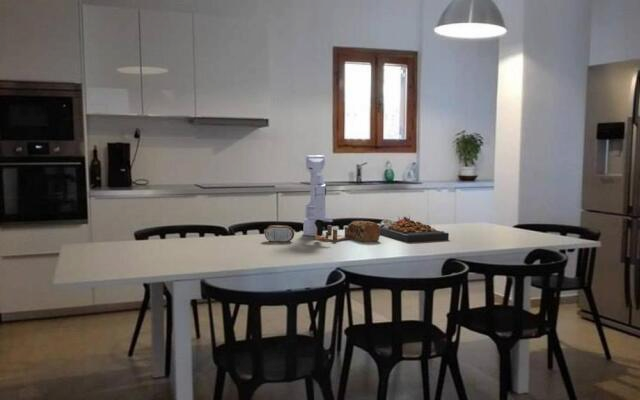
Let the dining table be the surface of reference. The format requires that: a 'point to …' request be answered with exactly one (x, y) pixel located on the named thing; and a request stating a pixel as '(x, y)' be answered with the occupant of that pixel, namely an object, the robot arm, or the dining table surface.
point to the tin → (279, 233)
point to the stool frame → (335, 235)
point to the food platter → (410, 231)
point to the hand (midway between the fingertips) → (319, 235)
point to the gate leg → (318, 235)
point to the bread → (364, 231)
